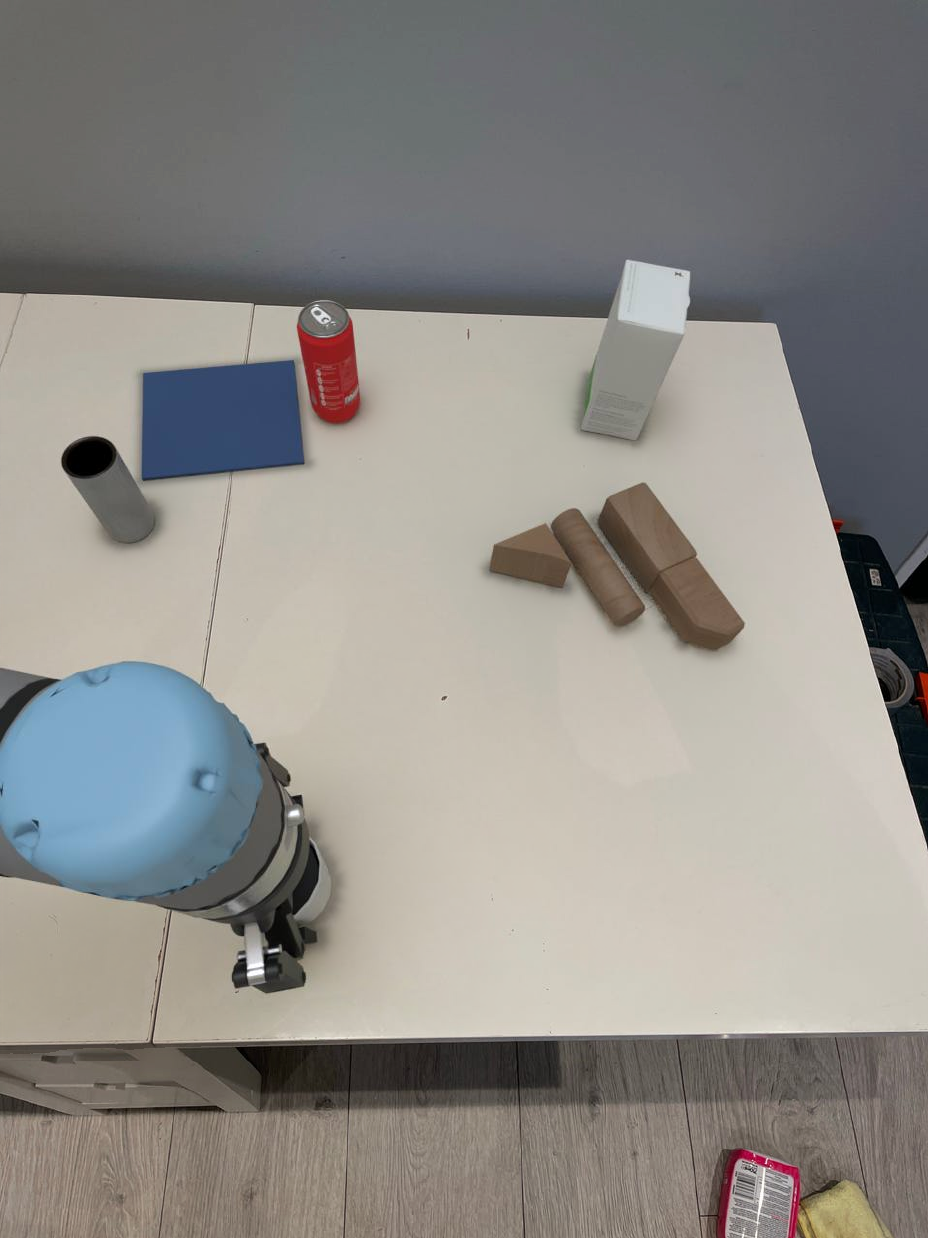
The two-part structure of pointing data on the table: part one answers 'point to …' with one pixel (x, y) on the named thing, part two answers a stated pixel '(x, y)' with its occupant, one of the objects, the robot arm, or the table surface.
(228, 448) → the cloth mat
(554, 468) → the table surface
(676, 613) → the wooden block set
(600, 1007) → the table surface
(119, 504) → the gray tube
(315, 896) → the white cup
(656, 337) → the cosmetic box
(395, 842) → the table surface
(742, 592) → the table surface
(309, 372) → the beverage can
